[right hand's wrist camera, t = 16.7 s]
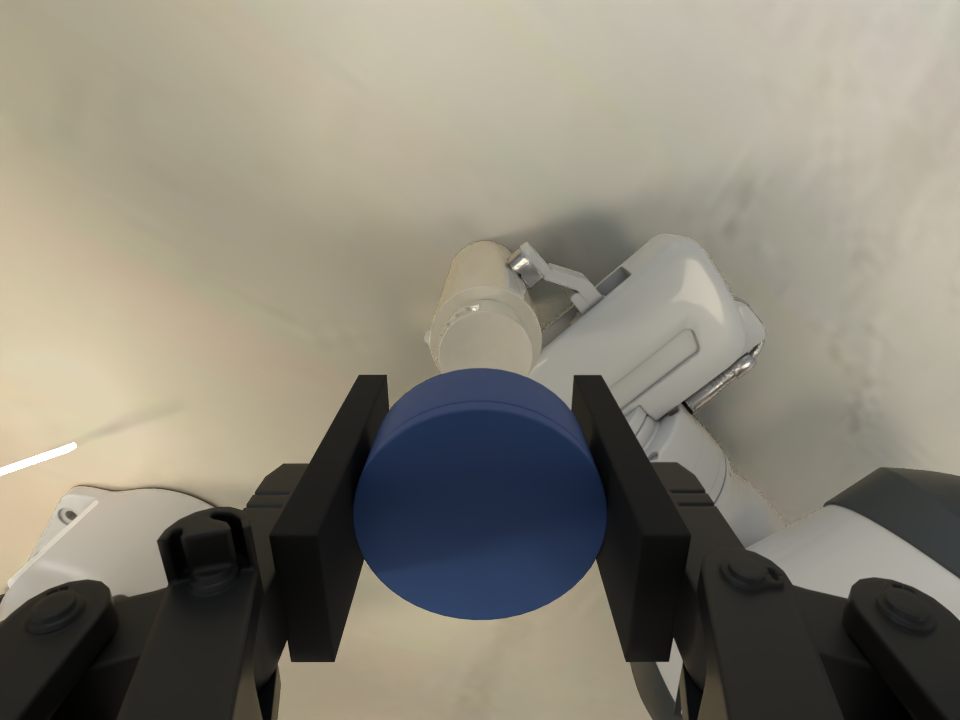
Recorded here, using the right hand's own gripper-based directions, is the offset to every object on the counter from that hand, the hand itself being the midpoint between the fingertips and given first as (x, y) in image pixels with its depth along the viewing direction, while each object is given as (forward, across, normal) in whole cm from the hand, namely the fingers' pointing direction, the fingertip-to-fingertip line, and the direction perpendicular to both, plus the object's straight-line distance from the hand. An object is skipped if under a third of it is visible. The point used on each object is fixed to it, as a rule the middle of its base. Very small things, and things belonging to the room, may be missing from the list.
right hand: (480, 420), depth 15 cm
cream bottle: (+21, 0, 0) cm, 21 cm away
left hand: (+14, 0, 0) cm, 14 cm away
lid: (-4, 0, 0) cm, 4 cm away
